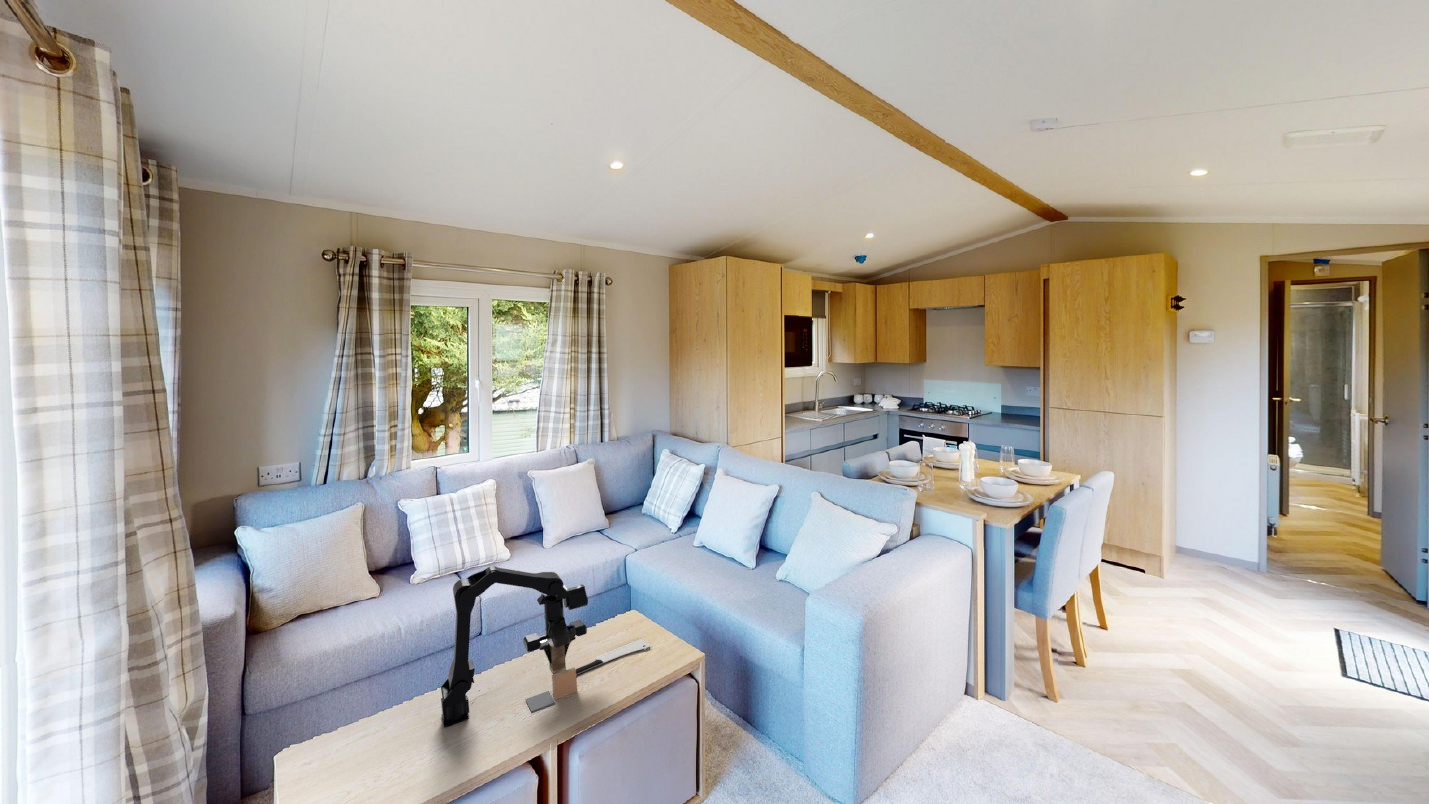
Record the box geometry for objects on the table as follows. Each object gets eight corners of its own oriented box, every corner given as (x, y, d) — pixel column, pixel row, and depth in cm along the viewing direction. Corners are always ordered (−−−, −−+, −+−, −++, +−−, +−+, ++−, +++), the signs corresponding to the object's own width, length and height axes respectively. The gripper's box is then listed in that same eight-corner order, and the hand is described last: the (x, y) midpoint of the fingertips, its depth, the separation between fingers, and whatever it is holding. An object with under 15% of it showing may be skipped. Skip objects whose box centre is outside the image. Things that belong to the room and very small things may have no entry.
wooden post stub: (553, 675, 169) (551, 647, 168) (549, 668, 173) (547, 642, 172) (566, 670, 171) (564, 643, 171) (562, 664, 175) (560, 638, 174)
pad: (531, 712, 158) (531, 711, 158) (525, 700, 164) (525, 699, 164) (555, 703, 162) (555, 702, 162) (548, 691, 168) (548, 690, 168)
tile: (554, 699, 164) (553, 677, 164) (553, 696, 166) (551, 675, 165) (577, 691, 168) (575, 669, 167) (575, 688, 169) (574, 667, 169)
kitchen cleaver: (638, 635, 199) (651, 643, 191) (638, 640, 199) (652, 648, 191) (555, 667, 181) (566, 677, 173) (556, 672, 181) (567, 682, 173)
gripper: (530, 633, 159) (533, 683, 160) (591, 614, 169) (594, 662, 170) (521, 618, 168) (524, 666, 169) (579, 601, 178) (582, 647, 179)
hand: (557, 660), depth 172 cm, fingers closed on wooden post stub, 4 cm apart
